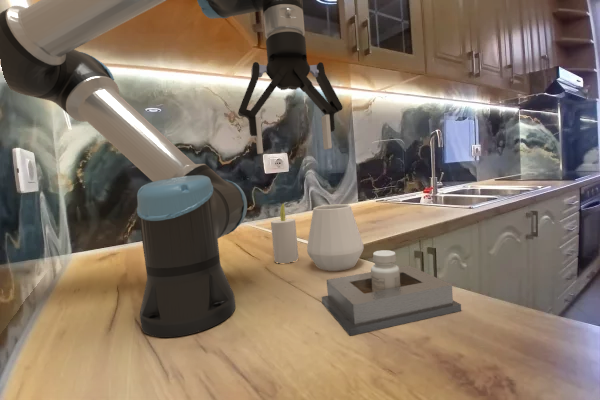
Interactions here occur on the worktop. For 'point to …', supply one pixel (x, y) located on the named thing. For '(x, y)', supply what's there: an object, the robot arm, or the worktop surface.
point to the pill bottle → (384, 271)
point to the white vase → (334, 238)
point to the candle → (284, 239)
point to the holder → (387, 300)
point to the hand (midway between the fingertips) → (294, 151)
